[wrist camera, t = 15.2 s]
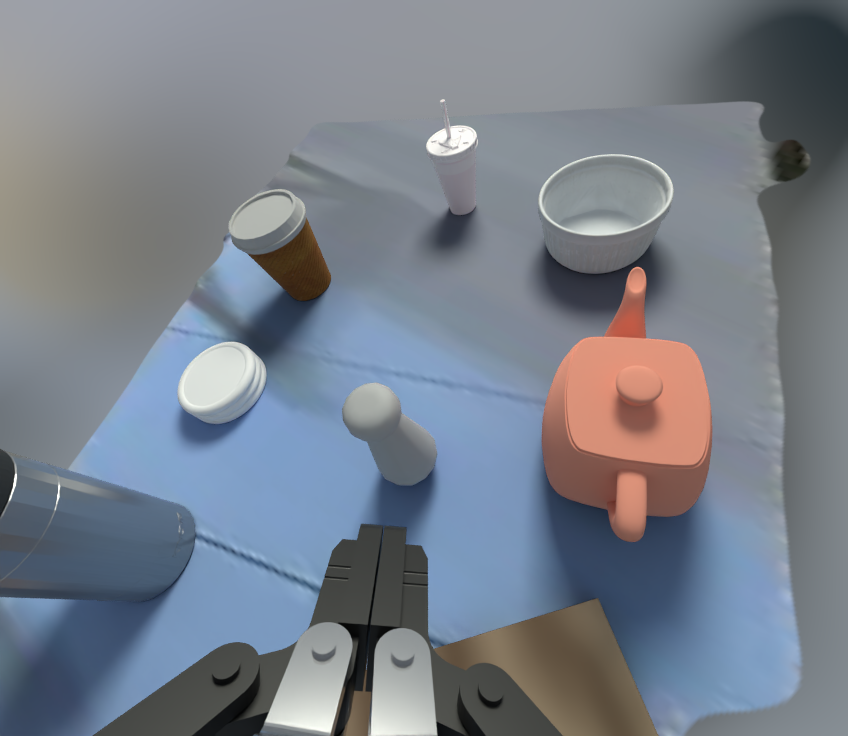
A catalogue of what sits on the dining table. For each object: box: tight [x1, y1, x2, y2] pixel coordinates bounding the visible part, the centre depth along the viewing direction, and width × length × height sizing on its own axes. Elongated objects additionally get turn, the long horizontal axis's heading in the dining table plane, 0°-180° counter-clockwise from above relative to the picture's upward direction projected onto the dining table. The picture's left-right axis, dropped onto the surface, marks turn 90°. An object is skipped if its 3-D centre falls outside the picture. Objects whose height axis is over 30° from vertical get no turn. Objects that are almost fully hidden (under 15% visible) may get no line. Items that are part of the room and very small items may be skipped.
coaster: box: [178, 342, 267, 424], centre depth 49 cm, size 10×10×4 cm
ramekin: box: [538, 154, 674, 274], centre depth 45 cm, size 13×13×7 cm
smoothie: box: [426, 100, 478, 215], centre depth 52 cm, size 6×6×14 cm
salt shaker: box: [342, 383, 437, 485], centre depth 34 cm, size 6×6×13 cm
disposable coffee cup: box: [229, 189, 331, 301], centre depth 52 cm, size 10×10×12 cm
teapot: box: [542, 267, 712, 542], centre depth 31 cm, size 20×12×12 cm, turn 166°
